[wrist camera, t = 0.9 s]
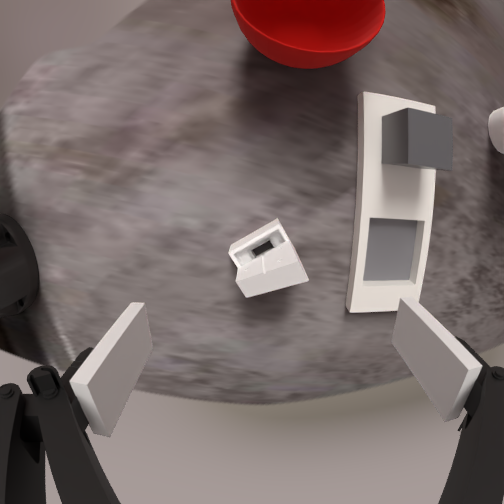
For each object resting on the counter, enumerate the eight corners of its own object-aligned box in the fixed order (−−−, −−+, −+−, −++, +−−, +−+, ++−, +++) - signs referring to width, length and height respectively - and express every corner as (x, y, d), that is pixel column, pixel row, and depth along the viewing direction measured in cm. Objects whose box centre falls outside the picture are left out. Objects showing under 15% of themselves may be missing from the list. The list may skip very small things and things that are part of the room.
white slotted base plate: (345, 305, 34) (366, 340, 27) (357, 95, 28) (385, 76, 20) (410, 302, 34) (440, 333, 27) (426, 108, 28) (465, 98, 20)
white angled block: (334, 232, 30) (309, 280, 23) (259, 259, 36) (221, 304, 29) (317, 200, 29) (286, 240, 22) (243, 233, 35) (200, 273, 28)
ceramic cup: (397, 45, 26) (439, 14, 16) (283, 107, 29) (295, 81, 19) (330, -30, 23) (349, -75, 14) (213, 23, 26) (198, -23, 16)
